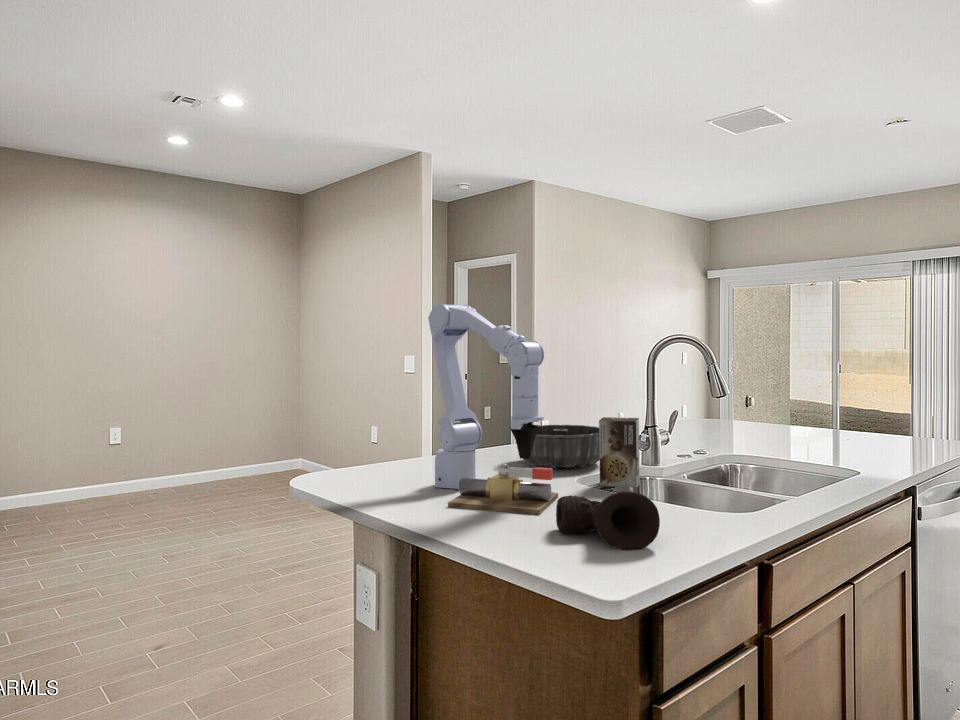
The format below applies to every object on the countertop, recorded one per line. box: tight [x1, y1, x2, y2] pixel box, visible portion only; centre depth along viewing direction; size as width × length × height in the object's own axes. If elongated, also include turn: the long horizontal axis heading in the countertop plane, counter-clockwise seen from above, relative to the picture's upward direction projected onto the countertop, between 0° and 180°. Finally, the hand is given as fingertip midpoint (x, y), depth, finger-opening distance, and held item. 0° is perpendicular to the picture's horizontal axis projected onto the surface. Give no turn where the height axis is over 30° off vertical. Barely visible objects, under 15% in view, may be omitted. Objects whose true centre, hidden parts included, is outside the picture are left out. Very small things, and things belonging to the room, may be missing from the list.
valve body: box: [458, 474, 552, 501], centre depth 148 cm, size 20×5×5 cm, turn 70°
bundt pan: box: [523, 424, 600, 470], centre depth 193 cm, size 26×26×10 cm
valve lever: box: [497, 463, 554, 481], centre depth 146 cm, size 12×3×3 cm, turn 71°
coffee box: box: [598, 416, 641, 489], centre depth 165 cm, size 9×6×16 cm
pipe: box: [555, 490, 661, 551], centre depth 121 cm, size 10×15×15 cm
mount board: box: [447, 491, 559, 516], centre depth 148 cm, size 20×16×1 cm
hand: (525, 458), depth 149 cm, fingers closed
